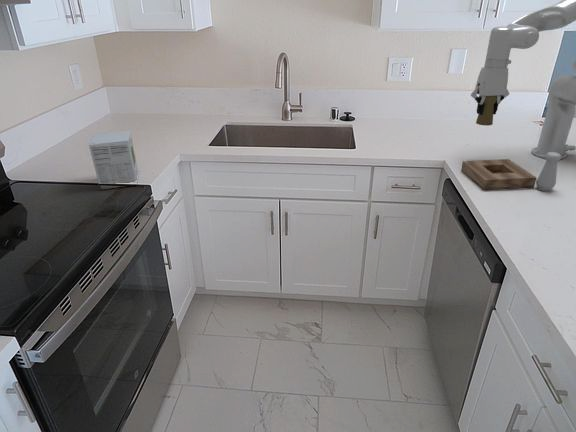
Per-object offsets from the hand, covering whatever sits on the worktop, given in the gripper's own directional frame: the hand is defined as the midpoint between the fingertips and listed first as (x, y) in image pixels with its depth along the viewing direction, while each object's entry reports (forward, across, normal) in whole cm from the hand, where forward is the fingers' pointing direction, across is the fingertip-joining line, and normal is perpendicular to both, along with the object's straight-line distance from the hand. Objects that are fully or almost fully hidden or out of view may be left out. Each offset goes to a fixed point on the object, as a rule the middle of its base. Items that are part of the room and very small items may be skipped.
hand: (486, 113), depth 160 cm
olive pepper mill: (+4, 0, 0) cm, 4 cm away
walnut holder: (+19, +2, +19) cm, 27 cm away
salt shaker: (+19, -10, +29) cm, 36 cm away
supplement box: (+19, +141, +7) cm, 143 cm away
